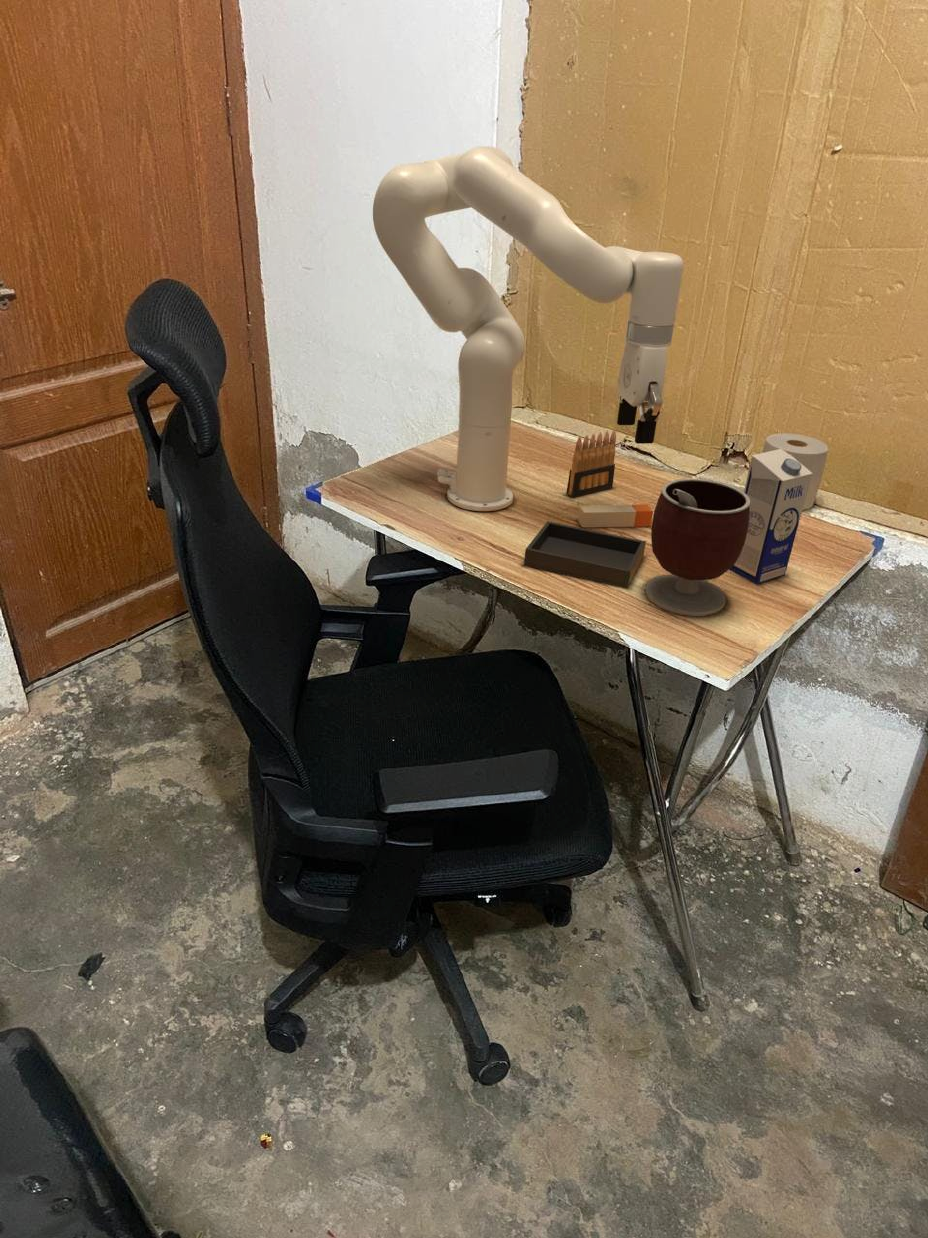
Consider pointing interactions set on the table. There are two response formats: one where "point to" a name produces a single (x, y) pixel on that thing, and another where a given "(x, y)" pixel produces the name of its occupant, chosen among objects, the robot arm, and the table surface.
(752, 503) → the milk carton
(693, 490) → the mate gourd
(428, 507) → the table surface
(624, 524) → the rectangular block
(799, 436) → the toilet paper roll
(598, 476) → the ammunition clip
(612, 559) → the tray
